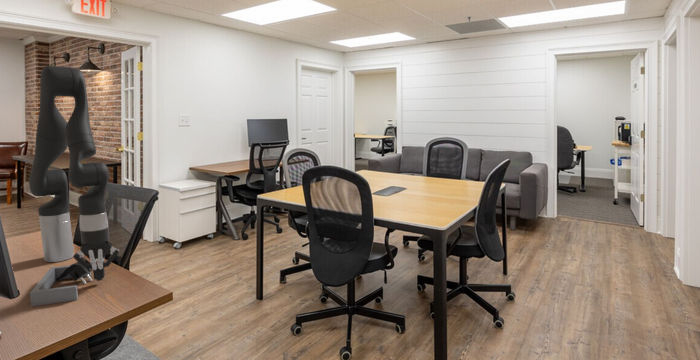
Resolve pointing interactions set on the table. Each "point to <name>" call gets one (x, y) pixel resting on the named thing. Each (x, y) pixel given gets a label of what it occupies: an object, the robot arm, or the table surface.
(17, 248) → the table surface
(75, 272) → the power plug
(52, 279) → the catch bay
